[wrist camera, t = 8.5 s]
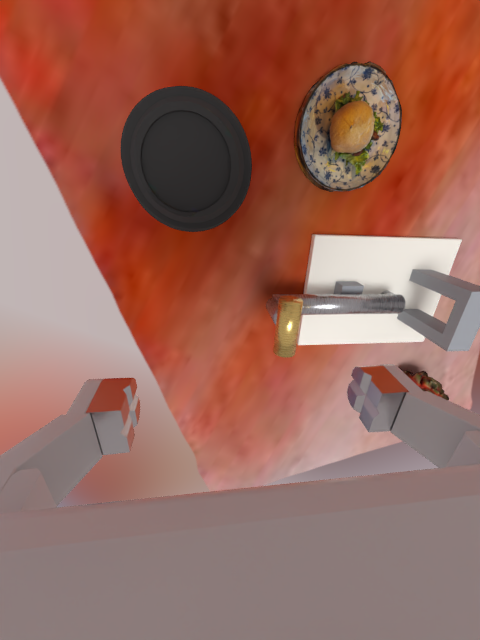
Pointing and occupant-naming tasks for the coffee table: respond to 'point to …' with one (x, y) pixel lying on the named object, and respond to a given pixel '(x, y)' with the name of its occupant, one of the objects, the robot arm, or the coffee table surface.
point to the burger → (348, 127)
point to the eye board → (397, 277)
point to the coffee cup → (186, 158)
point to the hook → (322, 312)
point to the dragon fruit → (427, 383)
